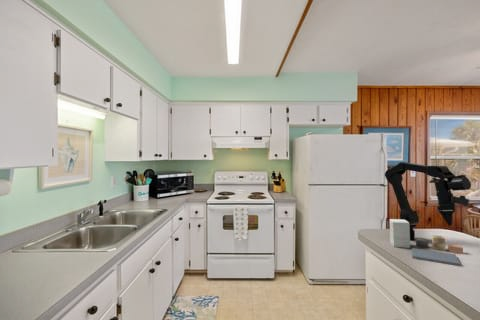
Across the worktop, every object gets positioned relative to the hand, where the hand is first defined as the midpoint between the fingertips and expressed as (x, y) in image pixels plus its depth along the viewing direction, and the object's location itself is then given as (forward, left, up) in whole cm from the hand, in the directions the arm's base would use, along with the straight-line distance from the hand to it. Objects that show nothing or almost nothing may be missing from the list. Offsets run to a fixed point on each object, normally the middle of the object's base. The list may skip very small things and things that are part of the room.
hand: (450, 224), depth 117 cm
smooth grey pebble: (-11, +3, -13) cm, 17 cm away
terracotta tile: (+2, +1, -13) cm, 13 cm away
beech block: (-4, +2, -13) cm, 14 cm away
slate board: (-7, -12, -13) cm, 19 cm away
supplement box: (-20, -1, -13) cm, 24 cm away
